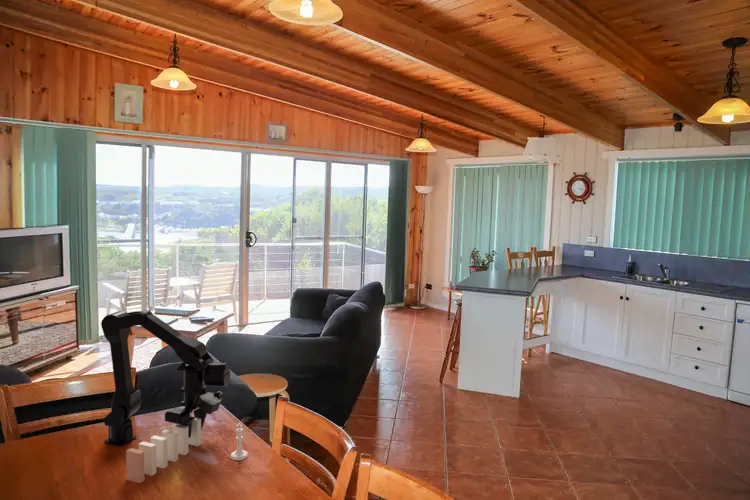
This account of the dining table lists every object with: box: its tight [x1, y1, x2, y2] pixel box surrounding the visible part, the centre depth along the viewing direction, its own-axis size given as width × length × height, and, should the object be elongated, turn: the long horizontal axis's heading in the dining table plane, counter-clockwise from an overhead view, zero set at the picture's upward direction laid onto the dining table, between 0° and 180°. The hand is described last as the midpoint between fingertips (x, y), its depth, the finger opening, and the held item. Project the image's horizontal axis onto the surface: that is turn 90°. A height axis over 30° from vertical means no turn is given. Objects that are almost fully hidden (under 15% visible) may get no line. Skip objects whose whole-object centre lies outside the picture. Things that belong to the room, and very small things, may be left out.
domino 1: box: [125, 447, 146, 484], centre depth 137 cm, size 4×2×8 cm, turn 69°
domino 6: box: [188, 418, 202, 447], centre depth 159 cm, size 4×2×8 cm, turn 69°
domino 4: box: [161, 429, 179, 462], centre depth 149 cm, size 4×2×8 cm, turn 69°
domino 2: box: [138, 441, 157, 477], centre depth 141 cm, size 4×2×8 cm, turn 69°
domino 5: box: [171, 423, 189, 456], centre depth 153 cm, size 4×2×8 cm, turn 69°
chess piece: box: [230, 422, 249, 461], centre depth 152 cm, size 5×5×10 cm
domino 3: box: [149, 434, 169, 469], centre depth 145 cm, size 4×2×8 cm, turn 69°
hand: (194, 434), depth 159 cm, fingers open, 4 cm apart
